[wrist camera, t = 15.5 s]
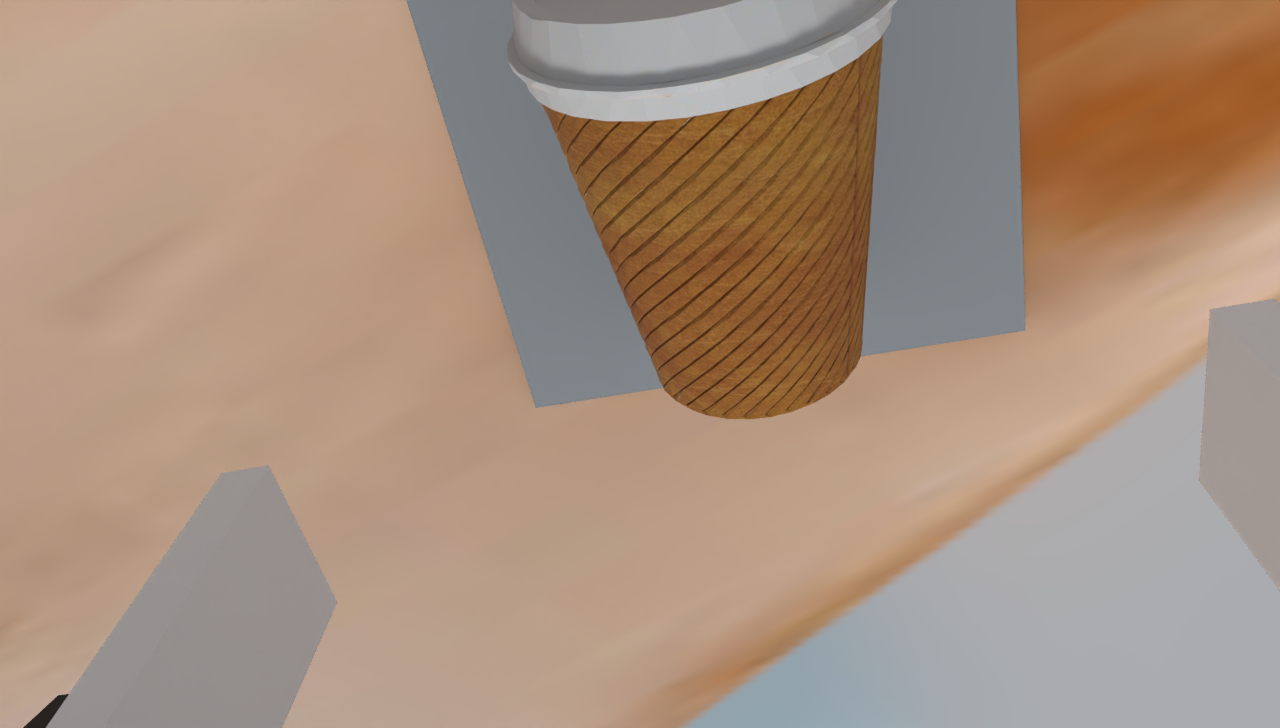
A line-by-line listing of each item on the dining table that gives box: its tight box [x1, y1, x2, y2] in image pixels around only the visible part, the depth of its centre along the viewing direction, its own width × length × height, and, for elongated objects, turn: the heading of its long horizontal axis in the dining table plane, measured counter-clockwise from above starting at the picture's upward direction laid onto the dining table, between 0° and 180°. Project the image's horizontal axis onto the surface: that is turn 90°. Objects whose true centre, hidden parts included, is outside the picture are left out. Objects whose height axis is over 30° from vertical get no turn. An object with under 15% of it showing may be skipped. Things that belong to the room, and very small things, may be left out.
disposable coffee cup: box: [506, 0, 898, 419], centre depth 27 cm, size 10×10×12 cm
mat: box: [407, 0, 1025, 408], centre depth 30 cm, size 17×19×1 cm
